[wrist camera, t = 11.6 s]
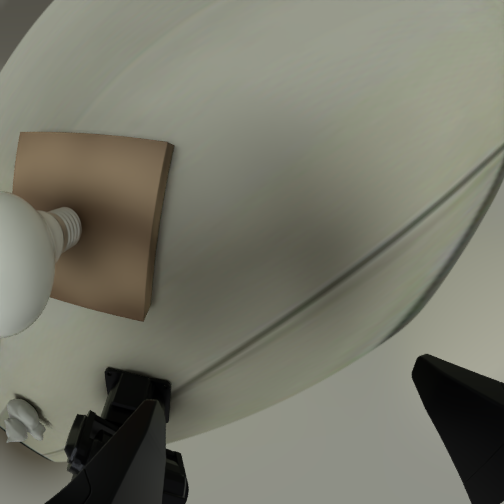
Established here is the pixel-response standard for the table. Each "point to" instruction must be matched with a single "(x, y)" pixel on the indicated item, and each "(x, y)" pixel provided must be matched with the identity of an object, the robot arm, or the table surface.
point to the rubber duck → (22, 421)
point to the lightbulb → (30, 258)
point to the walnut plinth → (99, 212)
